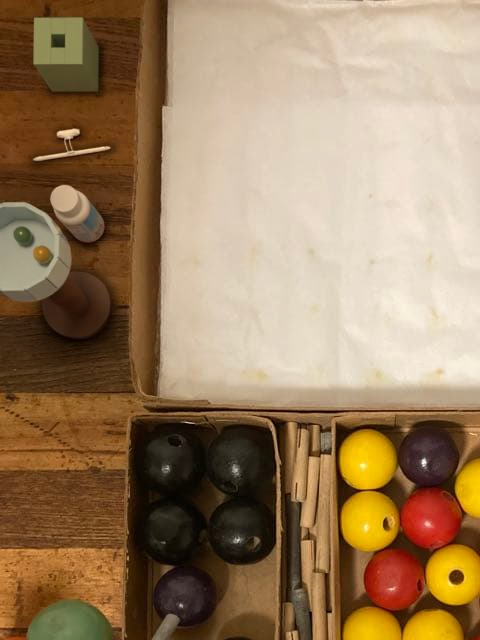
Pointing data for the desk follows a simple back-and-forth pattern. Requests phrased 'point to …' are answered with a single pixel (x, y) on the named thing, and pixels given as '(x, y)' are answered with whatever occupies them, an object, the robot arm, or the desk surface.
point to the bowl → (31, 254)
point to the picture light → (69, 135)
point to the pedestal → (78, 306)
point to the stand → (66, 54)
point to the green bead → (22, 235)
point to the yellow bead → (42, 254)
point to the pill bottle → (77, 213)
